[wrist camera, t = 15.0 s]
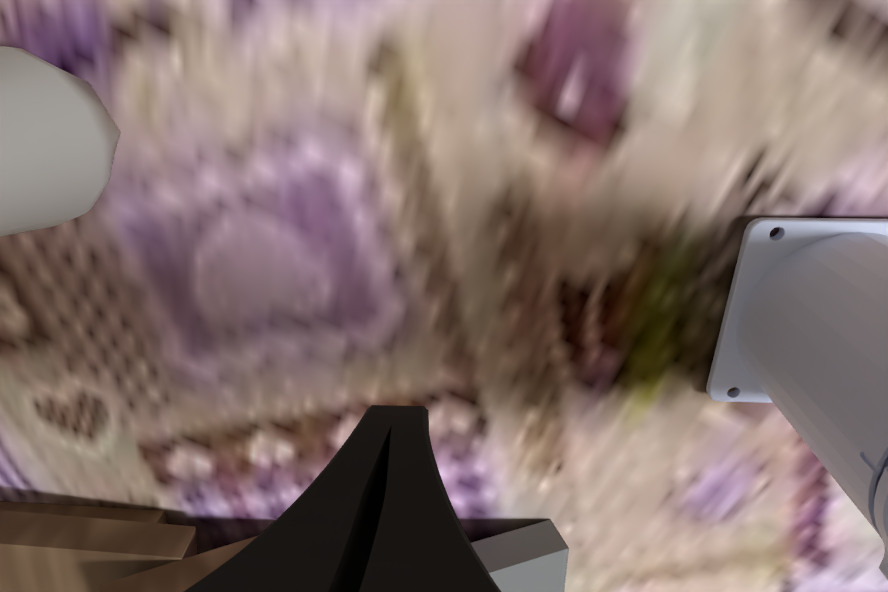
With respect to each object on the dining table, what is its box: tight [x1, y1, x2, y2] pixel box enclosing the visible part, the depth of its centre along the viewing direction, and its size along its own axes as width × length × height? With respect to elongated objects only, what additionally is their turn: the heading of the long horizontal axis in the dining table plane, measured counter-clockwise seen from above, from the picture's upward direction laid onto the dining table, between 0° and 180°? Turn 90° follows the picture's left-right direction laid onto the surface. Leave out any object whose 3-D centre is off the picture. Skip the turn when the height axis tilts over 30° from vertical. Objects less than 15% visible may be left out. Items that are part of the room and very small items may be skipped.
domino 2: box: [0, 510, 197, 592], centre depth 28 cm, size 2×5×9 cm
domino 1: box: [0, 501, 167, 524], centre depth 30 cm, size 2×5×9 cm
